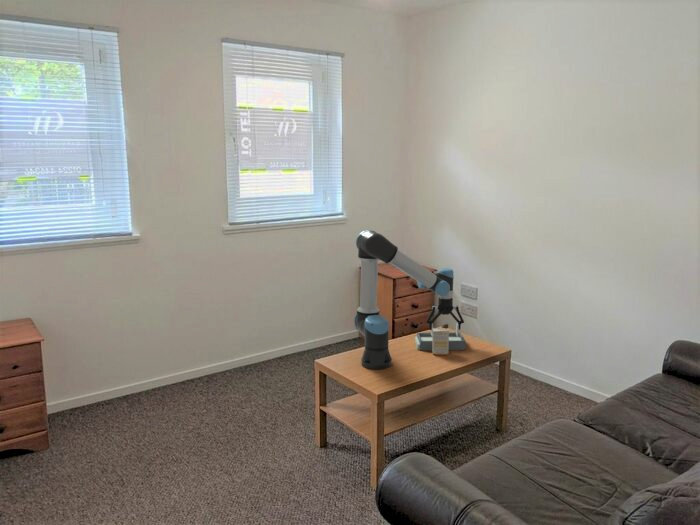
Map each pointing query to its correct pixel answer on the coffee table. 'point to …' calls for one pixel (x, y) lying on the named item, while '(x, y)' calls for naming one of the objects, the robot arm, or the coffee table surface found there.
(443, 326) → the peg
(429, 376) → the coffee table surface
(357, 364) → the coffee table surface
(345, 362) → the coffee table surface
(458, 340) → the box
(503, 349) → the coffee table surface
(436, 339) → the supplement box
